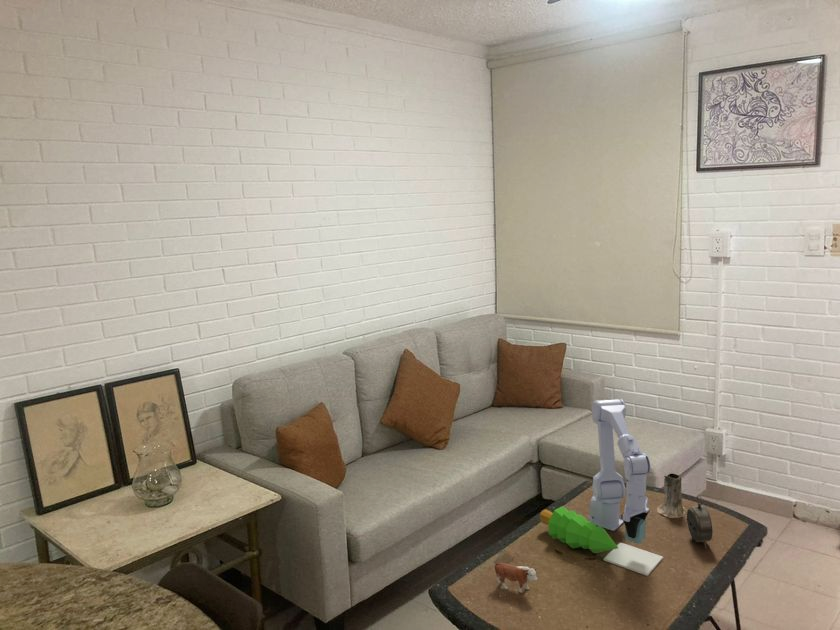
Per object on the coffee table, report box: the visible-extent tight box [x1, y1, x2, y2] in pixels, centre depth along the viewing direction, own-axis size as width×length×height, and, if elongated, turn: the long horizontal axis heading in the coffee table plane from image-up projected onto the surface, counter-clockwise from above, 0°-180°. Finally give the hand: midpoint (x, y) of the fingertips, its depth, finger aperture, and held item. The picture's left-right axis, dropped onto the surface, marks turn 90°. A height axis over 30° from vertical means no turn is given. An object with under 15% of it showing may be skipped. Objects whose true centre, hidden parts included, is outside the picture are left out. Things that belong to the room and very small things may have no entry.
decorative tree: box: [539, 505, 618, 554], centre depth 214 cm, size 11×12×30 cm
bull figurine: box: [494, 562, 538, 594], centre depth 194 cm, size 4×13×8 cm, turn 58°
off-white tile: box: [603, 542, 664, 577], centre depth 207 cm, size 14×12×1 cm
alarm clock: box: [685, 494, 714, 550], centre depth 214 cm, size 11×5×16 cm, turn 178°
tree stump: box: [656, 473, 688, 519], centre depth 235 cm, size 10×10×13 cm
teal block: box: [624, 517, 647, 545], centre depth 206 cm, size 4×4×6 cm
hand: (635, 533), depth 206 cm, fingers closed on teal block, 4 cm apart
